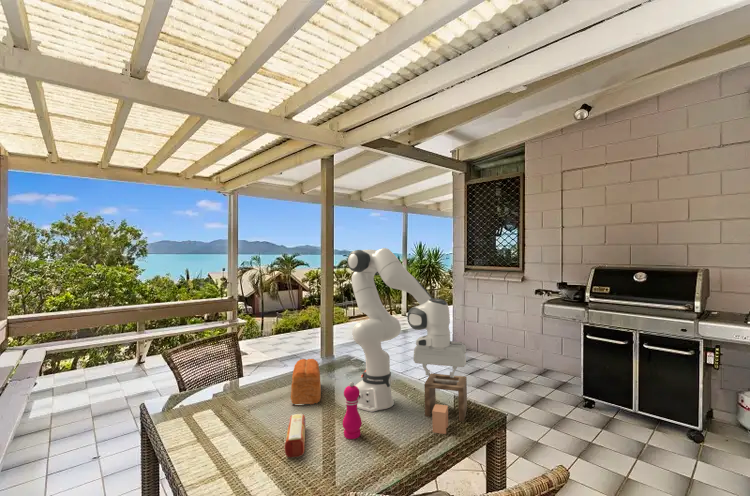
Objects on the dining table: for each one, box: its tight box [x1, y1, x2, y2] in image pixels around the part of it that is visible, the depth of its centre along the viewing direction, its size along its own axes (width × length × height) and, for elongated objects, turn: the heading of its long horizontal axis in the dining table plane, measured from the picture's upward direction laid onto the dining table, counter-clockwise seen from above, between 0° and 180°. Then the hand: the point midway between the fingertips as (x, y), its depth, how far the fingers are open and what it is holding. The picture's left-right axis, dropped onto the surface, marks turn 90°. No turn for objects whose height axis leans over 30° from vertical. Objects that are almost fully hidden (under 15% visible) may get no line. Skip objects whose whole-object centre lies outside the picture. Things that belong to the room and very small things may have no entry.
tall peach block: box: [431, 403, 449, 435], centre depth 135 cm, size 5×7×8 cm
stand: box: [424, 372, 468, 422], centre depth 151 cm, size 16×14×14 cm
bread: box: [290, 358, 322, 405], centre depth 173 cm, size 14×27×15 cm, turn 10°
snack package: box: [284, 413, 306, 459], centre depth 128 cm, size 21×7×7 cm, turn 9°
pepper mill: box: [342, 381, 363, 440], centre depth 132 cm, size 7×7×20 cm
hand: (439, 376), depth 136 cm, fingers open, 8 cm apart
